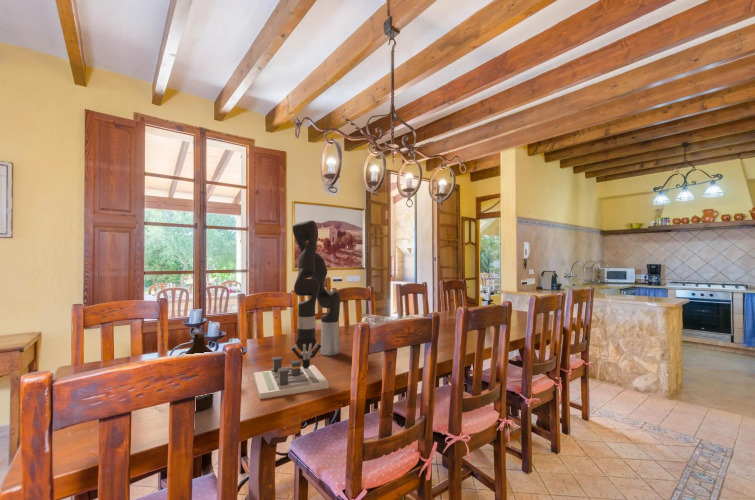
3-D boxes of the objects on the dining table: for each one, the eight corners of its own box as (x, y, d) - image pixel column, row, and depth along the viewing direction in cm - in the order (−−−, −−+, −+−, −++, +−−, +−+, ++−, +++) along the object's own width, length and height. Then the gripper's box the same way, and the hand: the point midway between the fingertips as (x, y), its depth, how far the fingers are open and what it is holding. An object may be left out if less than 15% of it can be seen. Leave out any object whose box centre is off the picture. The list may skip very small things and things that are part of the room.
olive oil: (178, 404, 117) (180, 332, 118) (212, 397, 123) (213, 328, 124) (180, 416, 108) (182, 338, 109) (216, 408, 114) (218, 334, 115)
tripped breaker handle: (299, 373, 142) (299, 359, 142) (300, 376, 139) (301, 362, 139) (290, 374, 140) (290, 360, 140) (292, 377, 137) (292, 363, 137)
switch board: (313, 369, 155) (314, 351, 155) (328, 388, 133) (329, 366, 133) (253, 377, 144) (254, 357, 144) (259, 399, 122) (259, 376, 122)
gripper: (319, 323, 148) (318, 363, 147) (288, 326, 142) (288, 367, 142) (324, 327, 141) (323, 368, 141) (292, 329, 135) (291, 373, 135)
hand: (305, 368), depth 141 cm, fingers closed
